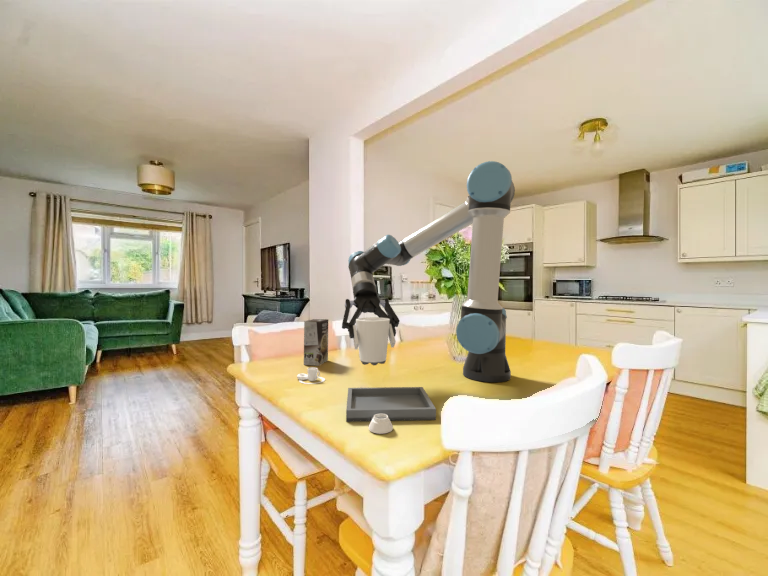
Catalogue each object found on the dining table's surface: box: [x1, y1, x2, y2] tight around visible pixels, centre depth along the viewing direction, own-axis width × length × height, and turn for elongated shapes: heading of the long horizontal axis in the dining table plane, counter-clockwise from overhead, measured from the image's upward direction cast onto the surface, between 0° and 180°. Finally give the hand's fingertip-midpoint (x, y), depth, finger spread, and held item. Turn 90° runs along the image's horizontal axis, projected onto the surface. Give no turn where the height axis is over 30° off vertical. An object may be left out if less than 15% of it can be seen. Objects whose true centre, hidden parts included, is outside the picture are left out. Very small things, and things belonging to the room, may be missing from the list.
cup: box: [355, 316, 390, 366], centre depth 100 cm, size 10×10×13 cm
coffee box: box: [303, 318, 329, 367], centre depth 129 cm, size 9×6×16 cm
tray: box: [345, 386, 437, 423], centre depth 84 cm, size 20×16×2 cm
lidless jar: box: [368, 414, 394, 435], centre depth 72 cm, size 5×3×5 cm
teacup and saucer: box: [296, 366, 326, 385], centre depth 107 cm, size 9×8×4 cm
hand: (375, 345), depth 97 cm, fingers closed on cup, 10 cm apart
